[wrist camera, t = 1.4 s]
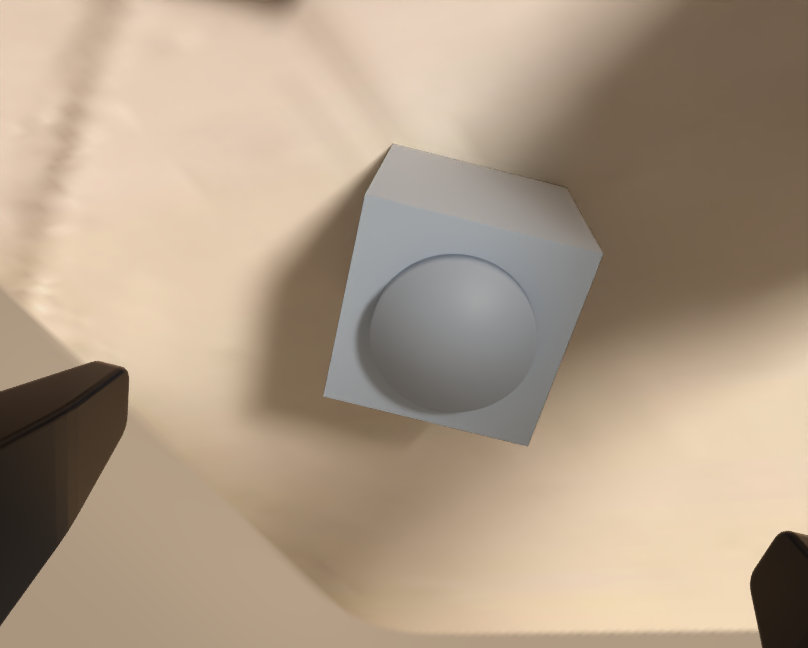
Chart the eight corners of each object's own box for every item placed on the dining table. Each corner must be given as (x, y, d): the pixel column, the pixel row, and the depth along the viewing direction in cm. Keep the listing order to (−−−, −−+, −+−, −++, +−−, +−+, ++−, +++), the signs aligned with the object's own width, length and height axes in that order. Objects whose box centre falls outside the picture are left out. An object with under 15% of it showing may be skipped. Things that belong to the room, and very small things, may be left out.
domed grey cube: (566, 186, 16) (608, 263, 12) (513, 339, 18) (529, 460, 14) (393, 143, 16) (361, 201, 11) (358, 301, 18) (318, 409, 13)
